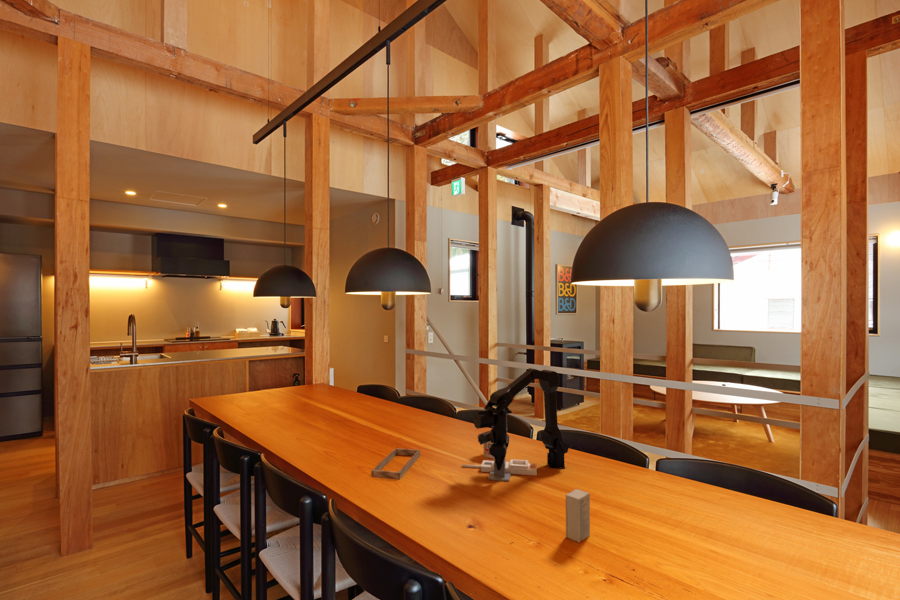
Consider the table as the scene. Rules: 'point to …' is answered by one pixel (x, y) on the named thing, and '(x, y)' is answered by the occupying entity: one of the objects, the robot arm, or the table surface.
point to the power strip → (509, 467)
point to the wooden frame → (396, 451)
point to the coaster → (506, 478)
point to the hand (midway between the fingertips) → (499, 465)
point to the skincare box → (577, 515)
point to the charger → (499, 472)
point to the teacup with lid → (487, 449)
